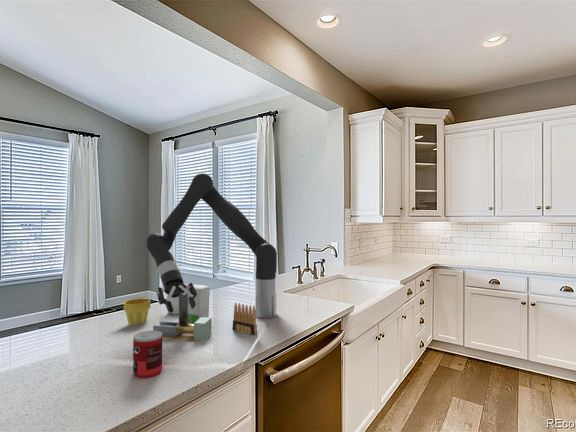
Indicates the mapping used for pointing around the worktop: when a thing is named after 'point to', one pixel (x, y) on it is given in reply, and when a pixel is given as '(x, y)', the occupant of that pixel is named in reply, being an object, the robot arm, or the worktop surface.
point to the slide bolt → (184, 315)
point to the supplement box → (175, 304)
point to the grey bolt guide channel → (167, 329)
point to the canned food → (147, 354)
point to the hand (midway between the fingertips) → (182, 309)
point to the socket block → (202, 328)
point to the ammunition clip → (245, 319)
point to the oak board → (183, 338)
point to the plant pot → (137, 310)
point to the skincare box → (199, 303)
